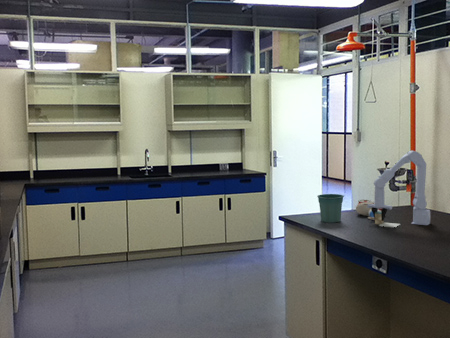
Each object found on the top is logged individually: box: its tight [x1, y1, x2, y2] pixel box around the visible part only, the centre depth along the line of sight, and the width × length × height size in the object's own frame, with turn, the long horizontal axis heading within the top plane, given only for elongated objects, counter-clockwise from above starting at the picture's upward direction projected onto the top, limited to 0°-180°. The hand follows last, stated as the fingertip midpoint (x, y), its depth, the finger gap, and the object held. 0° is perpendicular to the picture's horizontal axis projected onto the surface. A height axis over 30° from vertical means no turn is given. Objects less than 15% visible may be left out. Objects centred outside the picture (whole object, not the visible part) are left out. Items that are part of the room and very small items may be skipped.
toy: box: [355, 199, 382, 221], centre depth 327 cm, size 18×10×30 cm
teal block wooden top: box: [374, 211, 385, 225], centre depth 307 cm, size 4×6×7 cm, turn 146°
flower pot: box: [317, 193, 345, 224], centre depth 318 cm, size 16×16×16 cm
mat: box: [378, 222, 401, 228], centre depth 301 cm, size 10×10×1 cm
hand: (379, 220), depth 307 cm, fingers closed on teal block wooden top, 3 cm apart
